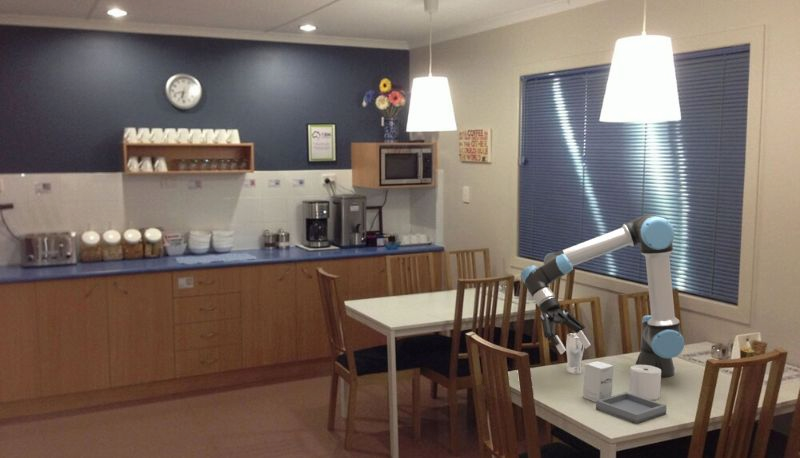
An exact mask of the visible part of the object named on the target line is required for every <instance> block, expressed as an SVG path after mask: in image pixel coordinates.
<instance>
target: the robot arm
mask: <svg viewBox="0 0 800 458" xmlns="http://www.w3.org/2000/svg"><path fill="white" fill-rule="evenodd" d="M674 238H675V230H674V226H673V225H672V224H671V222H670V221H669V220H668V219H666V218H664V217H662V216H658V215H655V214H645V215H642V216H640V217H638V218H635V219H632V220H630V221H629V222H626V223H623V224H622V227H619V228H616V229H615V230H611V231H609V232H607V233H604V234H601V235H598V236H596V237H593V238H590V239H588V240H586V241H582V242H580V243H578V244H575V245H572V246H569V247H567V248H564V249H562V250H560V251H556V252H550V253H548V254H546V255H545V256H544V259H543V264H542V265H541V266H540V267H539V266H538V267H537V266H536V265H534V264H533V265H529V266H527V267H525V268H523V270H522V271H521V272H520V278H521V280H522V282H523V284H524V286H525V288H526V289H527V291H528V292H529V294H530V295H531V297H532V298H533V300H534V302H535V303H536V306H538V308H539V309H538V310H539V311H540V312H541V314H540V316H539V319H540V321H541V324H542V330H543V331H542V332H543V337H544V338H545V339H547V340H548V341H550V340H551V343H552V344H553V345H554V346H555V347H556V349H557V351H558V352H559V354H560V355H563V353H565V352H566V346H565V345H564V344H563V342H562V341H561V338H560V337H559V336H558V335H556V327H557V326H556V325H558V324H561V325H564V326H566V327H568V328H569V329H570V330H572V331H574V332H575V334H576V335H577V337H578V338H579V340H580V341H581V343H582V345H583V346H584V350H586V349H588V348H589V347H590V346H591V345H592V344H591V342H590V341H589V339H588V338H587V336H586V334H585V333H584V331H583V330H584V329H586V327H585V325H584V324H582V322H580V320H578V319H577V318H576V317H575V316H574V315H573V314H572V313H571V312H570V311H569V310H568V308H565V309H564V310H562V309H561V303H560V302H559V301H558V299H557V298H556V296H555V294H554V292H553V291H552V289H551V288H550V287H549V285H551V284H552V283H553V282H555V281H557V280H559V279H560V278H562V277H564V276H566V275H568V274H569V273H570V272H572V271H573V269H574V266H577V265H579V264H582V263H585V262H587V261H590V260H592V259H595V258H598V257H600V256H604V255H607V254H610V253H611V252H615V251H617V250H620V249H622V248H626V247H627V246H630V247H632V248H633V247H635V246H638V245H640V246H639V249H640V254H641V255H642V256H644V258H645V266H646V267H645V268H646V277H647V286H648V289H647V290H648V297H649V308H650V315H649V314H647V315H644V316H643V317H642V318H641V337H640V352H639V354H638V356H637V359H636V362H635V364H634V365H649V366H654V367H657V368H659V369H661V378H668V377H673V376H674V375H675V372H676V371H675V365H674V362H673V359H674V358H676V357H678V356H679V355H680V354H681V353H683V350H684V349H685V348H684V347H685V339H684V337H683V334H682V333H681V325H680V323H681V322H680V320H679V319H678V318H677V317H676V314H675V305H674V294H673V281H672V270H671V262H670V261H671V260H670V255H671V254H672V253H673V251H674V247H673V242H674Z"/></svg>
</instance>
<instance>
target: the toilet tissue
mask: <svg viewBox="0 0 800 458" xmlns="http://www.w3.org/2000/svg"><path fill="white" fill-rule="evenodd" d="M629 372H630V373H629V374H630V375H629V389H628V390H629V392H628V393H631V394H634V395H637V396H640V397H643V398H646V399H649V400H652V401H655V400H659V399H660V396H661V384H662V382H661V381H662V377H661V369H659V368H657V367H654V366H649V365H635V364H634V365H631V366H630V371H629Z"/></svg>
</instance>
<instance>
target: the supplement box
mask: <svg viewBox="0 0 800 458" xmlns="http://www.w3.org/2000/svg"><path fill="white" fill-rule="evenodd" d="M583 371H584V373H583V389H582V390H583V393H582V398H584V399H586V400H589V401H592V402H594V403H596V401H597V400H600V399H604V398H607V397H611V396H613V377H614V375H613V374H614V365H613V364H609V363H606V362H602V361H600V360H599V361H598V360H597V361H593V362H589V363H585V364H584V369H583Z"/></svg>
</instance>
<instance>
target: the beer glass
mask: <svg viewBox="0 0 800 458" xmlns="http://www.w3.org/2000/svg"><path fill="white" fill-rule="evenodd" d="M576 334H577V333H576V332H575V333H568V334H566V342H565V343H566V345H565V349H566V351H565V352H566V357H567V359H566V360H567V365H566V369H565V371H566V373H569V374H571V375H572V374H573V375H579V374H582V372H583V371H582V370H583V369H582V360H583V356H584V351H585V348H584V346H583V345H582V343H581V341H580V340H579V338H578V337H577V335H576Z"/></svg>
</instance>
